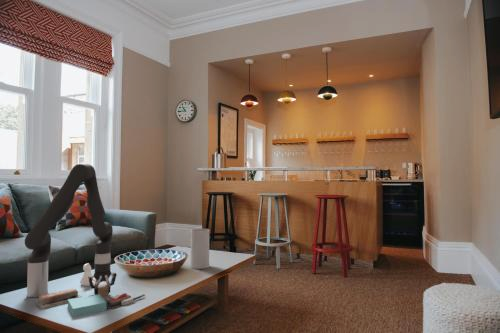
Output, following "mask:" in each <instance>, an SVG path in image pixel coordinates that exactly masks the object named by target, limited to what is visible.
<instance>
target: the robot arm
mask: <svg viewBox="0 0 500 333" xmlns="http://www.w3.org/2000/svg"><path fill="white" fill-rule="evenodd" d="M97 179H98V178H97V174H96V170H95V167H93V165H92V164H89V163H78V164H76V165H74V166H73V167H72V169H71V170H70V172H69V174H68V175H67V177H66V179H65V181H64V183H63V185H62V186H61V187H60V188H59V190H58V192H57V193H56V195H55V196H54V198H53V199H52V201H50V203H49V205H48V206H47V208H46V209H45V211H44V212H43V214H42V215H41V216H40V218H39V220H38V222H36V224H35V225H34V226H33V227H32V228H31V229H30V231H29V232H28V233H27V234H26V236H25V238H24V245H25V248H26V249H28V250H31V251H32V252H31V253H30V255H28V257H27V276H26V277H27V279H26V285H27V287H26V289H27V290H26V296H27V297H28V298H39V296H42V295H46V294H49V293H48V292H49V257H50V255H51V248H52V237H51V233H50V230H51V229H52V228H53V227H55V225H56V224H58V223H59V222H60V221H61V220H62V219H63V218H65V216H66V215H67V213H68V212H69V211H70V209H71V207H72V206H73V203H74V199H75V194H76V192H77V191H78V189H79V188H80V186H81V185H82V184H84V186H85V190H86V204H87V208H88V213H89V215H90V217H91V226H92V232H93V234H94V236H96V237H97V238H98V241H97V242H96V244H95V254H94V274H93V275H92V276H89V277H88V280H89V284H90V286H89V287H90V288H91V289H93V295H96V294H98V289H97V288H98V285H100V283H102V282H105V284H107V285H108V286H109V294H110V293H111V287H112V286H114V285H115V283H116V279H117V272H111V261H112V258H111V242H112V239H113V237H112V236H113V231H114V230H113V225H112V224H111V223H110V222H107V221H105V217H106V211H105V208H104V205H103V202H102V200H101V199H102V198H101V196H100V192H99V191H100V190H99V186H98V180H97ZM110 277H111V281H110V279H109V278H110ZM93 278H95V279H96V282H95V285H93V282H92V280H93Z"/></svg>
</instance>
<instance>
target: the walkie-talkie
mask: <svg viewBox="0 0 500 333" xmlns="http://www.w3.org/2000/svg"><path fill="white" fill-rule="evenodd" d="M144 296H146V294H142V295H138V296H136V297H132V296H131V295H128V293H126V292H121V293H120V292H119V293H118V294H116V295H114V296H111V297H110V298H107V299H104V300H105V301H106V308H108V307H109V308H110V309H114V308H117V307H119V306H126V305H130V304H133V303H134V302H135V301H136V300H139V299H141V298H142V297H144Z"/></svg>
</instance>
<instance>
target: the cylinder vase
mask: <svg viewBox="0 0 500 333" xmlns="http://www.w3.org/2000/svg"><path fill="white" fill-rule="evenodd" d="M209 267H210V229H209V228H193V229H190V268H191V269H195V270H203V269H208V268H209Z"/></svg>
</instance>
